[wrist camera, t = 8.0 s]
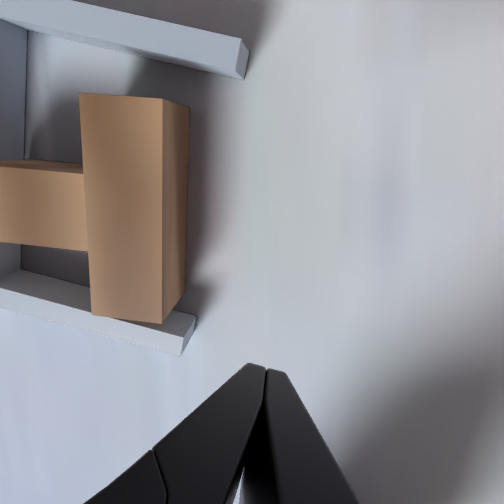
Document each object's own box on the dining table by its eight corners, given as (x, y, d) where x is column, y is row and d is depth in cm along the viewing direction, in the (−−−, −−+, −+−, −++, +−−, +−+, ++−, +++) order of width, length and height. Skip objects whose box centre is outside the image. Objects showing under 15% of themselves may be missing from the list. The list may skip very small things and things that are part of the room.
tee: (189, 107, 18) (162, 98, 15) (185, 291, 21) (161, 323, 18) (21, 94, 19) (-47, 83, 15) (39, 274, 22) (-14, 301, 18)
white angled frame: (249, 52, 17) (241, 38, 15) (193, 333, 22) (180, 356, 20) (4, -3, 18) (-41, -25, 15) (1, 281, 23) (-34, 298, 20)
